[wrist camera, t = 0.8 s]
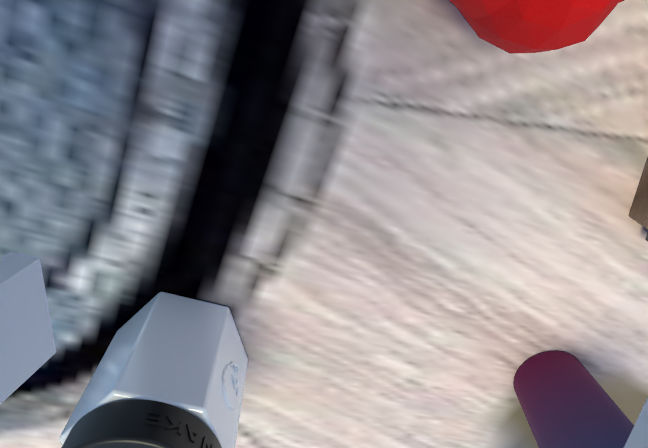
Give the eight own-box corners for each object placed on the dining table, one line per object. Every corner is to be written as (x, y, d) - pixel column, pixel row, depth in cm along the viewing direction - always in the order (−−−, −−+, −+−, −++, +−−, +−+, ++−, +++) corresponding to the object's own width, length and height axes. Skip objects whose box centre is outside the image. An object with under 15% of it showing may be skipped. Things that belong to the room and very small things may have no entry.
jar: (260, 382, 37) (242, 545, 27) (151, 404, 38) (89, 573, 27) (222, 276, 34) (182, 416, 23) (102, 302, 34) (8, 451, 23)
